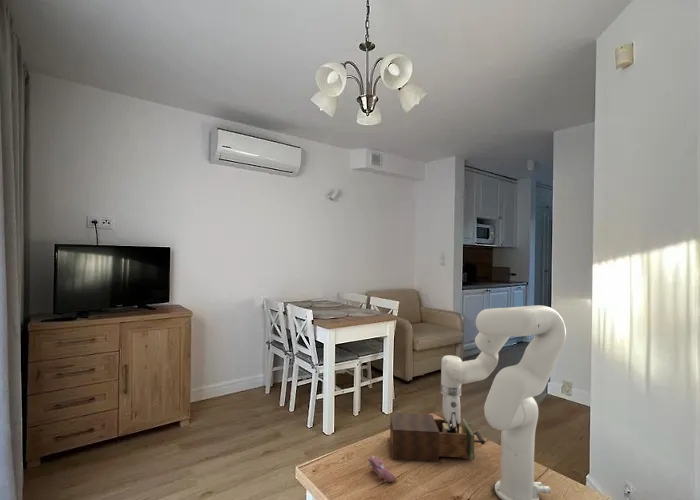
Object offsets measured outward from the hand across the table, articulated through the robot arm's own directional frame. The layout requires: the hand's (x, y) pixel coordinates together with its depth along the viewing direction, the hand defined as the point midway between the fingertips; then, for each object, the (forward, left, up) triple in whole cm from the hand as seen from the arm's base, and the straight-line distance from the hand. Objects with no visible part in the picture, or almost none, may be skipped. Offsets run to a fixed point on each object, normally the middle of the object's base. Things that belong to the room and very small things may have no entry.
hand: (449, 437), depth 139 cm
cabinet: (+14, 0, -5) cm, 15 cm away
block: (0, 0, 0) cm, 0 cm away
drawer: (-2, 0, -4) cm, 5 cm away
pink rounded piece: (+27, +18, -6) cm, 33 cm away
